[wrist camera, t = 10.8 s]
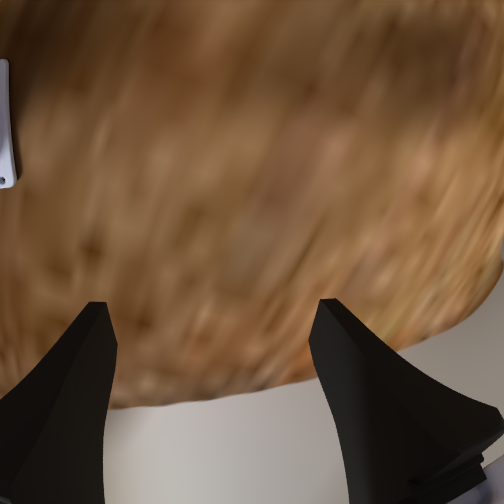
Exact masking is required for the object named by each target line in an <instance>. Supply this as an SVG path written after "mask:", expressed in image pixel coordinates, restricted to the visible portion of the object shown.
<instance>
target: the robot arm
mask: <svg viewBox="0 0 504 504" xmlns="http://www.w3.org/2000/svg"><path fill="white" fill-rule="evenodd" d="M2 177H4V178H5V182H4V181H3V179H2ZM16 181H17V176H16V170H15V163H14V155H13V147H12V137H11V126H10V111H9V63H8V61H7V60H6V59H0V188H9V187H12V186H13V185H14V184H15V183H16ZM117 345H118V344H117V341H116V337H115V334H114V330H113V326H112V323H111V319H110V315H109V311H108V308H107V304H106V302H89V303H88V304H87V305H86V306H85V308H84V309H83V310H82V311H81V312H80V314H79V315H78V316H77V317H76V319H75V320H74V321H73V322H72V324H71V325H70V326H69V327H68V329H67V330H66V331H65V332H64V334H63V335H62V336H61V337H60V338H59V340H58V341H57V342H56V343H55V345H54V346H53V347H52V348H51V349H50V350H49V352H48V353H47V354H46V355H45V356H44V357H43V358H42V360H41V361H40V362H39V363H38V364H37V365H36V366H35V367H34V369H33V370H32V371H31V372H30V373H29V374H28V375H27V376H26V377H25V378H24V379H23V380H22V381H21V382H20V383H19V384H18V385H17V386H16V387H14V388H13V389H12V390H11V391H10V392H9V393H7V394H6V395H5V396H4V397H3V398H2V399H1V400H0V504H105V498H104V484H103V436H104V426H105V420H106V415H107V409H108V404H109V399H110V393H111V388H112V383H113V378H114V373H115V366H116V356H117ZM309 345H310V350H311V354H312V359H313V363H314V366H315V369H316V372H317V375H318V377H319V380H320V382H321V385H322V388H323V391H324V393H325V396H326V399H327V401H328V404H329V407H330V409H331V412H332V415H333V418H334V421H335V424H336V428H337V433H338V437H339V441H340V446H341V450H342V455H343V461H344V466H345V472H346V478H347V485H348V493H349V503H350V504H504V455H502V456H501V457H499V458H498V459H496V460H495V461H493V462H492V463H490V464H489V465H487V466H486V467H484V468H483V469H482V467H481V465H480V463H482V462H483V461H484V457H483V455H482V452H483V451H484V450H486V449H487V448H488V447H489V446H490V445H492V444H493V443H494V442H495V441H496V440H497V439H498V438H500V437H501V436H502V435H503V434H504V419H503V417H502V415H501V414H500V412H499V410H498V409H497V408H496V407H493V406H490V405H487V404H484V403H482V402H479V401H476V400H474V399H471V398H469V397H467V396H465V395H463V394H460V393H458V392H456V391H454V390H452V389H450V388H448V387H446V386H445V385H443V384H441V383H440V382H438V381H436V380H434V379H433V378H431V377H429V376H428V375H426V374H425V373H423V372H422V371H420V370H419V369H417V368H416V367H414V366H413V365H411V364H410V363H409V362H407V361H406V360H405V359H403V358H402V357H401V356H400V355H398V354H397V353H396V352H395V351H394V350H392V349H391V348H390V347H389V346H387V345H386V344H385V343H384V342H383V341H382V340H381V339H379V338H378V337H377V336H376V335H375V334H374V333H373V332H372V331H371V330H369V329H368V328H367V327H366V326H365V325H364V324H363V323H362V322H361V321H360V320H359V319H358V318H357V317H356V316H355V315H354V314H352V313H351V312H350V311H349V310H348V309H347V308H346V307H345V306H344V305H343V304H342V303H341V302H340V301H338V300H337V299H336V298H334V299H320V301H319V305H318V308H317V312H316V315H315V319H314V323H313V326H312V329H311V333H310V336H309Z"/></svg>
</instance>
